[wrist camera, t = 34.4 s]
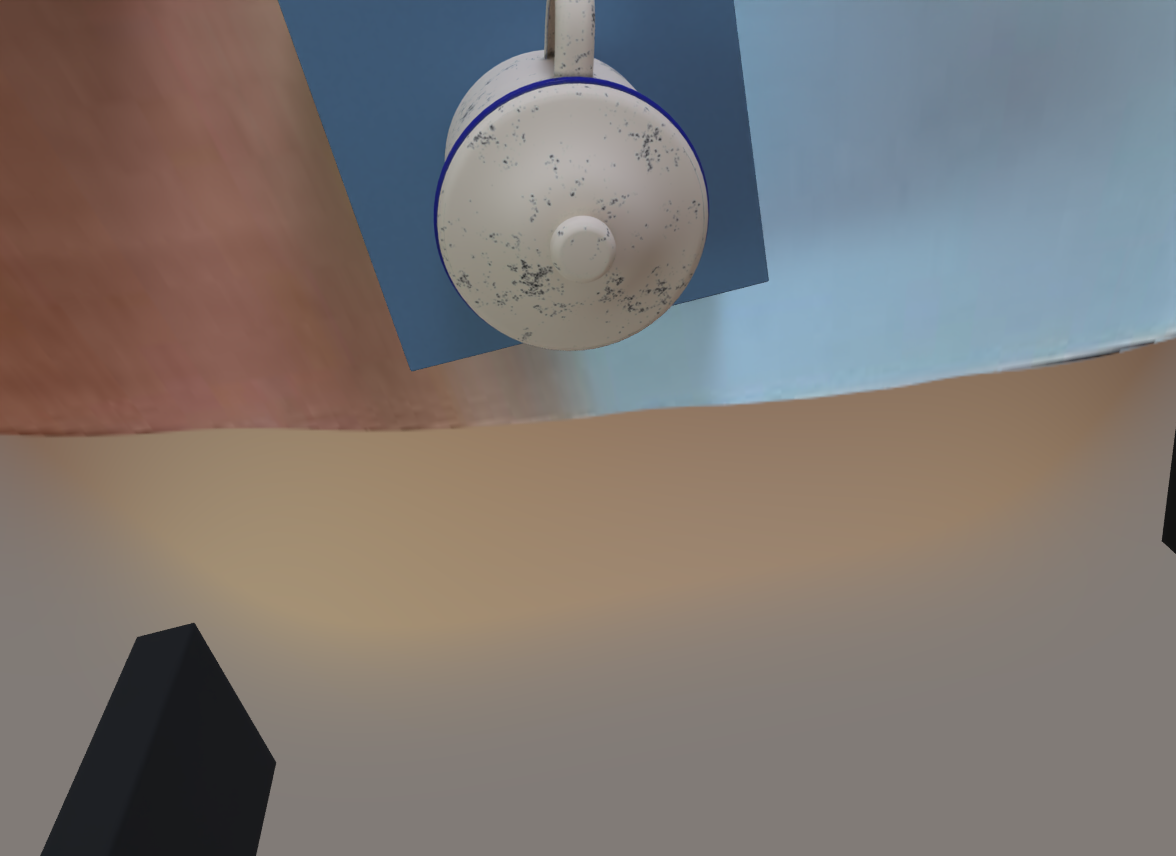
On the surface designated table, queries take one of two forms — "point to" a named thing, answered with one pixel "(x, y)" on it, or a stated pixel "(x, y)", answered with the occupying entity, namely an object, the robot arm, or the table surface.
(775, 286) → the table surface
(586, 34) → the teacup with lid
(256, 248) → the table surface
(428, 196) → the lunchbox lid
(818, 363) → the table surface
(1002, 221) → the table surface
